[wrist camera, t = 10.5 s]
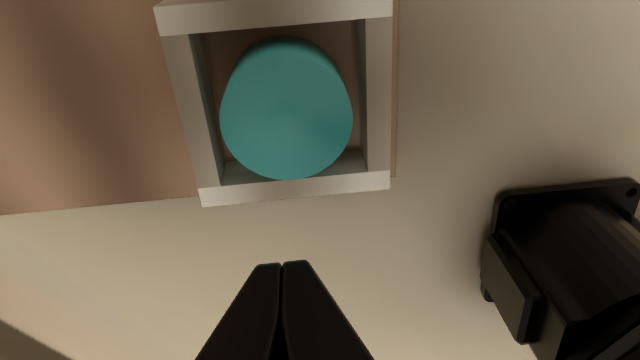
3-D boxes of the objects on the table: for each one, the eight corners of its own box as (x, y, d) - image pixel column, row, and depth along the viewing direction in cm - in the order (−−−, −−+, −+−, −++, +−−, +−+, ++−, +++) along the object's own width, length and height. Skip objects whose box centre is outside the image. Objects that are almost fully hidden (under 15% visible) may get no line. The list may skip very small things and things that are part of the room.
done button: (340, 30, 15) (350, 50, 12) (345, 140, 17) (354, 173, 14) (218, 41, 14) (207, 62, 12) (238, 150, 16) (231, 185, 14)
